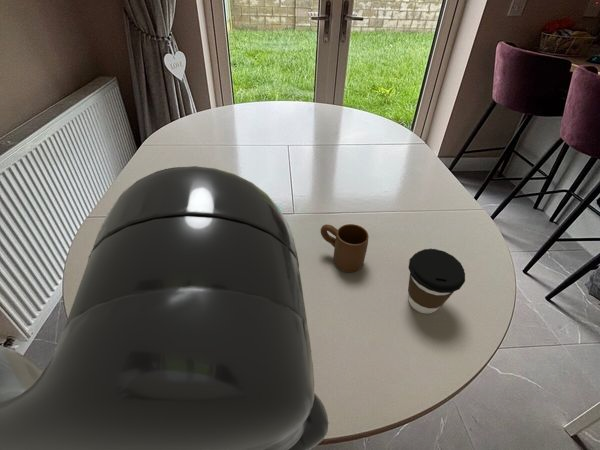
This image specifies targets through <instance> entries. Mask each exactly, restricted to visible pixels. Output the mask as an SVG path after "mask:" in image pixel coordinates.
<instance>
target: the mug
mask: <svg viewBox="0 0 600 450" xmlns="http://www.w3.org/2000/svg"><path fill="white" fill-rule="evenodd" d="M329 233H330V234H331V235H330V234H329ZM320 235H321V237H322V239H323V240H324V241H325V242H327V243H328V244H330V245H331V246H332V247H333V248H334V249H333V263H334V265H335V266H336V268H337V269H338V270H340V271H342V272H346V273H354V272H358V271H359V270H360V269H362V268H363V266H364V263H365V259H366V255H367V251H368V250H367V249H368V245H369V237H370V236H369V233H368V231H367V230H366V229H365V228H364V227H362V226H361V225H359V224H354V223H349V224H343V225H341V226H340V227H339V228H336V226H334V225H331V224H323V225H322V226H321V227H320ZM332 235H333V236H332Z"/></svg>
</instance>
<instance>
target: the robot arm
mask: <svg viewBox="0 0 600 450" xmlns="http://www.w3.org/2000/svg"><path fill="white" fill-rule="evenodd" d="M277 205H278V204H277V203H275V201H274V200H273V199H272V198H271V197H270V195H268V193H266V192H265V191H264V190H263V189H261V188H260V187H259V186H258V185H256V184H255V183H254V182H252V181H250V180H249V179H246V178H244V177H242V176H240V175H237V174H235V173H233V172H229V171H225V170H222V169H218V168H213V167H204V166H196V165H194V166H192V165H191V166H175V167H170V168H164V169H161V170H158V171H155V172H152V173H150V174H148V175H146V176H144V177H142V178H140V179H138V180H136V181H135V182H134V183H132V184H131V185H130V186H129V187H127V188H126V189H125V190H123V191H122V192H121V194H120V195H119V196H118V197H117V199H116V200H115V202H114V203H113V204H112V206H111V207H110V208H109V210H108V212H107V214H106V215H105V217H104V219H103V221H102V223H101V226H100V227H99V230H98V232H97V235H96V238H95V240H94V243H93V245H92V248H91V251H90V253H89V255H88V259H87V263H86V266H85V269H84V272H83V274H82V278H81V280H80V282H79V285H78V289H77V291H76V294H75V297H74V300H73V302H72V305H71V309H70V312H69V314H68V317H67V320H66V323H65V326H64V328H63V331H62V332H61V334H60V338H59V341H58V343H57V345H56V348H55V351H54V352H53V355H52V356H51V358H50V360H49V361H48V364H47V365H46V367H45V368H44V370H42V369H41V368H40V367H39V366H37V364H35V363H34V362H33V361H32V360H31V359H30V358H28V357H27V356H24V355H23V354H22V353H19V352H18V351H16V350H14V349H12V348H9V347H6V346H3V345H0V450H312V449H314V447H316V446H317V445H319V444H320V443H321V442H323V440H324V439H325V438H326V437H327V434H328V430H329V417H328V412H327V409H326V407H325V405H324V403H323V402H322V400H321V398H320V397H319V396H318V395H317V393H316V392H315V373H314V361H313V355H312V345H311V338H310V332H309V325H308V319H307V312H306V305H305V299H304V292H303V285H302V278H301V271H300V263H299V256H298V251H297V248H296V245H295V239H294V237H293V234H292V231H291V227H290V225H289V223H288V222H287V219H286V218H285V216H284V213H283V212H282V210H281V211H280V209H281V208H280V209H279V207H280V206H279V205H278V206H279V207H278V206H277Z"/></svg>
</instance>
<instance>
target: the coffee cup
mask: <svg viewBox="0 0 600 450" xmlns="http://www.w3.org/2000/svg"><path fill="white" fill-rule="evenodd" d="M407 269H408V271H409V279H408V287H407V292H408V293H407V300H408V302H409V305H410V306H411V307H412V309H414V310H415V311H416V312H418V313H421V314H425V315H427V314H428V315H429V314H432V313H435V312H437V311H438V309H439V308H440V307H442V306H443V305H444V304H445V303H446V302H447V301H448V300H449V298H450V297H451V296H452V295H453V294H454V292H456V291H459V290H460V289H461V288H462V287H463V285H464V284H465V282H466V272H465V269H464V266H463V265H462V263H461V262H460V261H459V260H458V259H457V257H455V256H454V255H452V254H450V253H448V252H446V251H445V250H441V249H437V248H425V249H421V250H419V251H417V252H415V253H414V254H413V255H412V256H411V257H410V258H409V261H408V268H407Z"/></svg>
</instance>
